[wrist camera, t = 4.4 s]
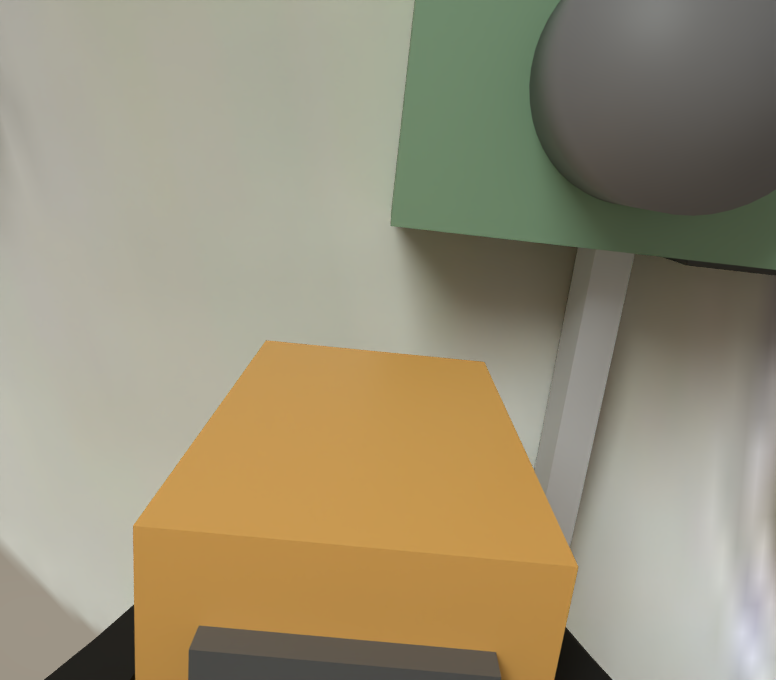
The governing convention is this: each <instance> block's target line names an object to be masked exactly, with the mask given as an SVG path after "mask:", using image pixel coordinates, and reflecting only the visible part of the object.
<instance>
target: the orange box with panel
mask: <svg viewBox="0 0 776 680" xmlns="http://www.w3.org/2000/svg"><path fill="white" fill-rule="evenodd" d="M133 553H134V625H135V680H554V678H555V673H556V669H557V664H558V659H559V655H560V650H561V646H562V641H563V636H564V632H565V627H566V622H567V618H568V613H569V608H570V604H571V599H572V594H573V590H574V585H575V580H576V576H577V571H578V565H577V563H576V561H575V558H574V556H573V554H572V552H571V550H570V548H569V545H568V543H567V541H566V539H565V537H564V535H563V532H562V530H561V528H560V526H559V524H558V521H557V519H556V517H555V515H554V513H553V511H552V508H551V506H550V504H549V502H548V500H547V498H546V495H545V493H544V491H543V489H542V487H541V484H540V482H539V480H538V478H537V476H536V474H535V471H534V469H533V467H532V465H531V463H530V461H529V458H528V456H527V454H526V452H525V450H524V447H523V445H522V443H521V441H520V439H519V437H518V434H517V432H516V430H515V428H514V426H513V424H512V421H511V419H510V417H509V415H508V413H507V411H506V408H505V406H504V404H503V402H502V400H501V397H500V395H499V393H498V391H497V389H496V387H495V384H494V382H493V380H492V378H491V376H490V374H489V371H488V369H487V367H486V365H485V363H484V362H479V361H469V360H459V359H449V358H439V357H429V356H418V355H408V354H398V353H388V352H378V351H368V350H358V349H347V348H337V347H327V346H317V345H307V344H297V343H287V342H276V341H265V343H264V344H263V346H262V347H261V348H260V350H259V351H258V352H257V354H256V355H255V357H254V358H253V359H252V361H251V362H250V364H249V365H248V366H247V368H246V369H245V371H244V372H243V373H242V375H241V376H240V378H239V379H238V380H237V382H236V383H235V385H234V386H233V387H232V389H231V390H230V392H229V393H228V394H227V396H226V397H225V398H224V400H223V401H222V403H221V404H220V405H219V407H218V408H217V410H216V411H215V412H214V414H213V415H212V417H211V418H210V419H209V421H208V422H207V424H206V425H205V426H204V428H203V429H202V431H201V432H200V433H199V435H198V436H197V438H196V439H195V440H194V442H193V443H192V444H191V446H190V447H189V449H188V450H187V451H186V453H185V454H184V456H183V457H182V458H181V460H180V461H179V463H178V464H177V465H176V467H175V468H174V470H173V471H172V472H171V474H170V475H169V477H168V478H167V479H166V481H165V482H164V484H163V485H162V486H161V488H160V489H159V491H158V492H157V493H156V495H155V496H154V497H153V499H152V500H151V502H150V503H149V504H148V506H147V507H146V509H145V510H144V511H143V513H142V514H141V516H140V517H139V518H138V520H137V521H136V523H135V524H134V525H133Z"/></svg>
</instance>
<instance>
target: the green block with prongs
mask: <svg viewBox="0 0 776 680" xmlns="http://www.w3.org/2000/svg"><path fill="white" fill-rule="evenodd" d="M391 226H395V227H404V228H413V229H422V230H430V231H439V232H448V233H457V234H466V235H474V236H483V237H492V238H501V239H509V240H518V241H527V242H536V243H545V244H553V245H562V246H571V247H578V249H577V255H576V260H575V265H574V270H573V275H572V280H571V285H570V290H569V296H568V301H567V306H566V311H565V316H564V321H563V326H562V331H561V336H560V342H559V347H558V352H557V357H556V362H555V367H554V372H553V377H552V383H551V388H550V393H549V398H548V403H547V408H546V413H545V418H544V423H543V429H542V434H541V439H540V444H539V449H538V454H537V459H536V464H535V470H534V471H535V474H536V476H537V478H538V480H539V482H540V484H541V487H542V489H543V491H544V493H545V495H546V498H547V500H548V502H549V504H550V506H551V508H552V511H553V513H554V515H555V517H556V519H557V521H558V524H559V526H560V528H561V530H562V532H563V535H564V537H565V539H566V541H567V543H568V545H569V548H570V545H571V540H572V536H573V531H574V527H575V522H576V518H577V513H578V509H579V504H580V500H581V495H582V491H583V486H584V482H585V477H586V473H587V468H588V464H589V459H590V455H591V450H592V445H593V441H594V436H595V432H596V427H597V423H598V418H599V414H600V409H601V405H602V400H603V396H604V391H605V387H606V382H607V378H608V373H609V369H610V364H611V360H612V355H613V351H614V346H615V341H616V337H617V332H618V328H619V323H620V319H621V314H622V310H623V305H624V301H625V296H626V292H627V287H628V283H629V278H630V274H631V269H632V265H633V260H634V256H635V254H641V255H650V256H659V257H664V258H667V259H670V260H673V261H675V262H678V263H681V264H684V265H689V266H697V267H706V268H715V269H724V270H733V271H741V272H750V273H759V274H768V275H776V0H415V4H414V13H413V21H412V30H411V39H410V48H409V57H408V66H407V75H406V84H405V93H404V102H403V111H402V120H401V129H400V138H399V147H398V156H397V165H396V174H395V183H394V192H393V201H392V210H391Z"/></svg>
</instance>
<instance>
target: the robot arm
mask: <svg viewBox="0 0 776 680" xmlns="http://www.w3.org/2000/svg"><path fill="white" fill-rule="evenodd" d="M44 680H135V625H134V605H133V606H132V607H131V608H129V609H128V610H127V611H126V612H125V613H124V614H123V615H122V616H120V617H119V618H118V619H117V620H116V621H115V622H114V623H112V624H111V625H110V626H109V627H108V628H107V629H106V630H104V631H103V632H102V633H101V634H100V635H99V636H98V637H96V638H95V639H94V640H93V641H92V642H91V643H89V644H88V645H87V646H86V647H84V648H83V649H82V650H80V651H79V652H78V653H77V654H75V655H74V656H73V657H72V658H71V659H69V660H68V661H67V662H66V663H64V664H63V665H62V666H61V667H59V668H58V669H57V670H56V671H54V672H53V673H52V674H51V675H49V676H48V677H47V678H46V679H44ZM554 680H612V679H611V678H610V677H609V676H608V674H607V673H606V672H605V671H604V670H603V669H602V668H601V667H600V666H599V665H598V664H597V662H596V661H595V660H594V659H593V658H592V657H591V656H590V655H589V654H588V652H587V651H586V650H585V649H584V648H583V647H582V645H581V644H580V643H579V642H578V641H577V640H576V638H575V637H574V636H573V635H572V634H571V633H570V631H569V630H568V629H567V628H566V627H565V632H564V636H563V641H562V646H561V650H560V655H559V659H558V664H557V669H556V673H555V678H554Z"/></svg>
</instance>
